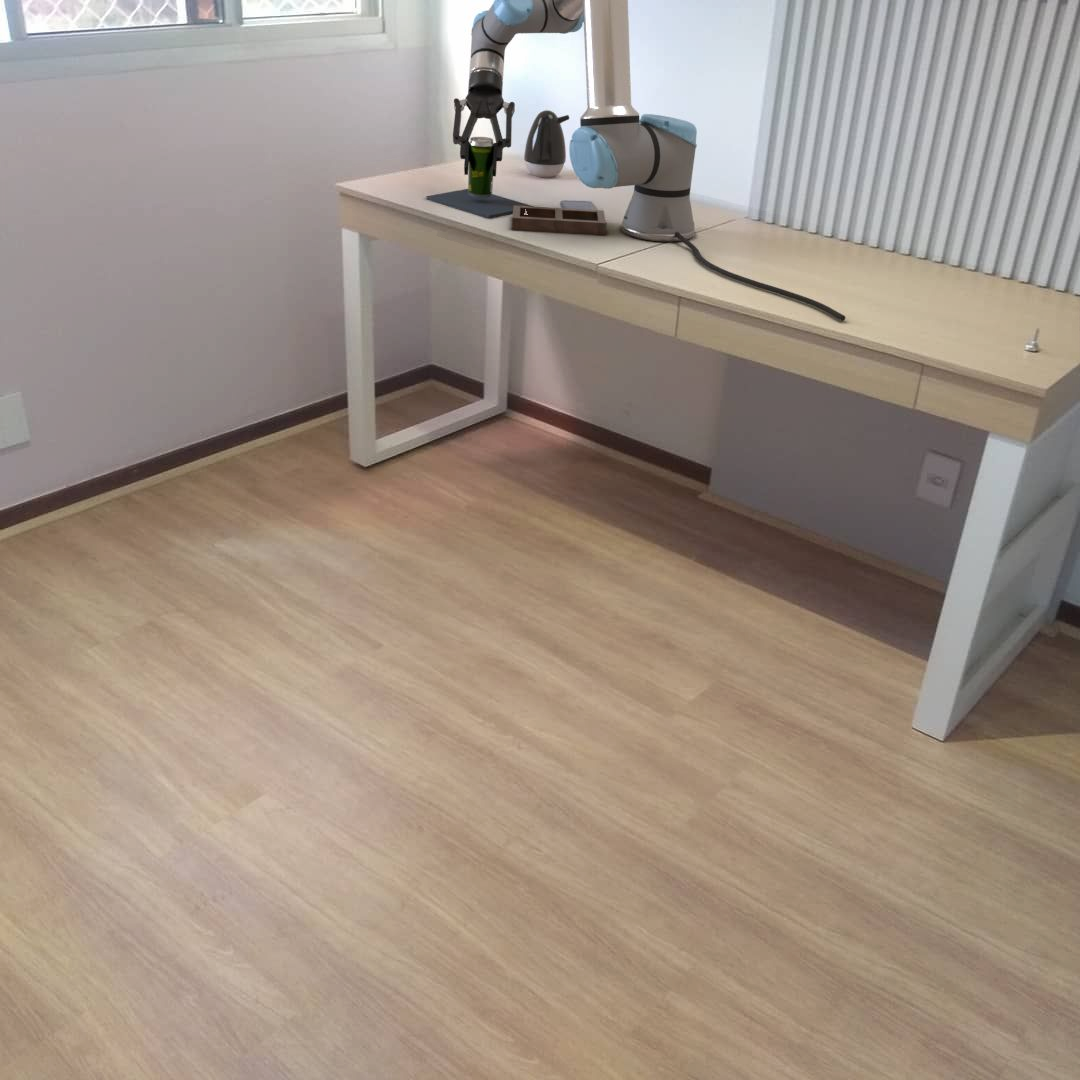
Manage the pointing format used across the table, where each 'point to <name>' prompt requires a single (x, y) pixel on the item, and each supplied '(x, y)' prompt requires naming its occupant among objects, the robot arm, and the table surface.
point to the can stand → (558, 220)
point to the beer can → (480, 167)
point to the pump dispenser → (546, 145)
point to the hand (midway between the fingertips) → (480, 171)
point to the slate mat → (477, 203)
